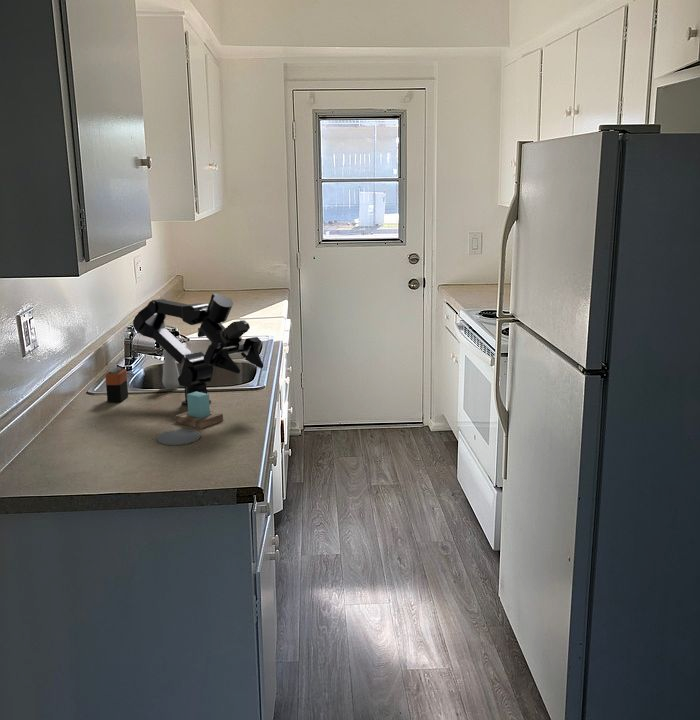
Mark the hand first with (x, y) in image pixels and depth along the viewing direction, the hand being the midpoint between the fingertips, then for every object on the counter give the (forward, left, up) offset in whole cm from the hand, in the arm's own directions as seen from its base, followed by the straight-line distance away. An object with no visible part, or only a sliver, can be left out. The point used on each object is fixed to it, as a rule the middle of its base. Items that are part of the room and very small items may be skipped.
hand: (251, 369), depth 211 cm
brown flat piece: (-10, -11, -14) cm, 21 cm away
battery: (-47, -10, -14) cm, 51 cm away
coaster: (-4, -24, -14) cm, 28 cm away
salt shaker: (-44, +9, -14) cm, 48 cm away
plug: (-10, -11, -14) cm, 21 cm away
